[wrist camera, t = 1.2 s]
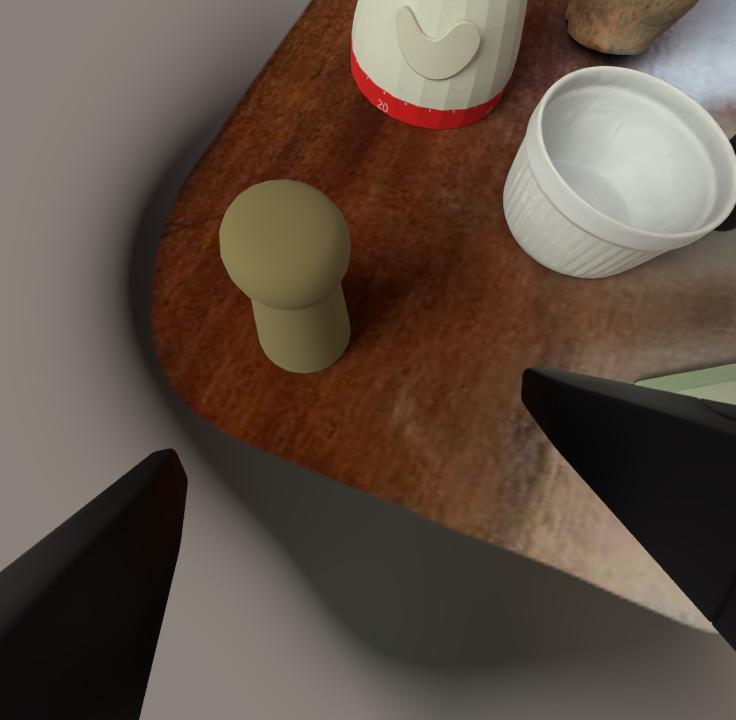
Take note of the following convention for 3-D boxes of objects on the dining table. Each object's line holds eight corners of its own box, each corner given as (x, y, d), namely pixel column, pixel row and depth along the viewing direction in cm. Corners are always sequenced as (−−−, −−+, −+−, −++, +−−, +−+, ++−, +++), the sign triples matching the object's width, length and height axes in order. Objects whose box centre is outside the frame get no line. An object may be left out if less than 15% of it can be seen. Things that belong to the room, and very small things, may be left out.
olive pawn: (243, 355, 22) (163, 260, 12) (279, 276, 24) (237, 132, 14) (333, 386, 22) (332, 316, 12) (362, 304, 24) (384, 181, 14)
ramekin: (679, 257, 28) (787, 193, 21) (550, 322, 25) (628, 271, 18) (582, 135, 31) (650, 45, 24) (456, 182, 28) (494, 94, 21)
